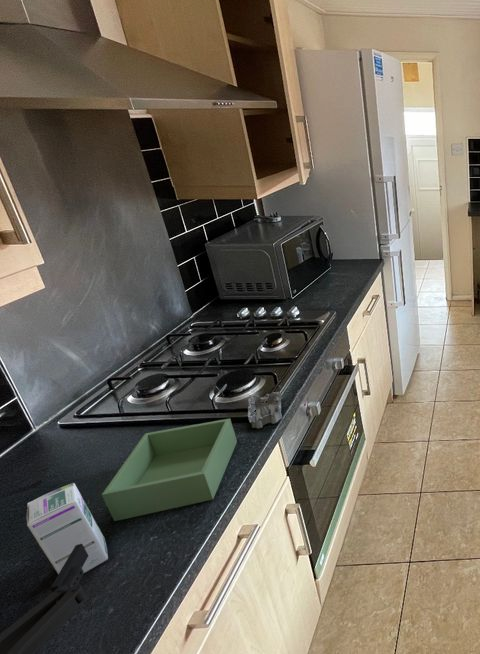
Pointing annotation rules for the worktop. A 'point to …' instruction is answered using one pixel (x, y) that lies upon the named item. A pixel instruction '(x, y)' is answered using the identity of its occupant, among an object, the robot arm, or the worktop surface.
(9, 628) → the robot arm
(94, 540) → the syrup box
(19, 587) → the worktop surface
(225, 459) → the storage tray
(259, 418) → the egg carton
